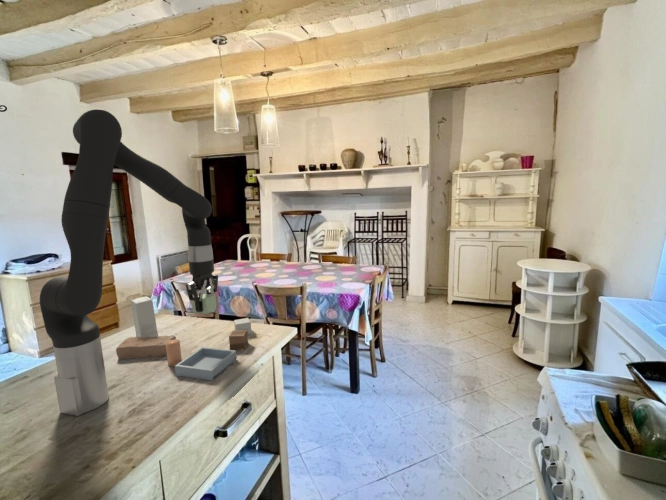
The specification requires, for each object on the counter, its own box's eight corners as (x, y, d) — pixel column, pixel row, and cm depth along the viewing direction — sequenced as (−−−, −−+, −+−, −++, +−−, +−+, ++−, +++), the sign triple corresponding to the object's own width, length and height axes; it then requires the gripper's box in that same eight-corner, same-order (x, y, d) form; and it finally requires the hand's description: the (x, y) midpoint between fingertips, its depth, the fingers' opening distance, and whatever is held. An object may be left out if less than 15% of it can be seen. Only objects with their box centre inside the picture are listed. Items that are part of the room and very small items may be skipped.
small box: (249, 329, 130) (248, 317, 129) (251, 334, 125) (251, 322, 124) (234, 331, 128) (233, 319, 127) (236, 337, 122) (235, 324, 122)
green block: (207, 313, 106) (206, 298, 105) (194, 312, 107) (192, 298, 107) (216, 308, 111) (215, 294, 110) (203, 307, 112) (202, 293, 111)
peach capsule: (175, 366, 101) (173, 345, 100) (165, 365, 102) (162, 344, 101) (184, 360, 105) (182, 340, 104) (174, 359, 106) (172, 338, 105)
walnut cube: (244, 349, 112) (243, 336, 111) (229, 350, 112) (228, 336, 111) (248, 343, 117) (247, 330, 116) (234, 343, 117) (233, 330, 116)
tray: (212, 380, 93) (211, 370, 92) (175, 375, 96) (174, 365, 96) (236, 359, 105) (236, 350, 104) (203, 355, 108) (202, 346, 108)
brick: (178, 345, 117) (176, 332, 116) (169, 356, 109) (167, 343, 108) (128, 349, 115) (127, 336, 114) (116, 361, 107) (114, 347, 106)
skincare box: (158, 337, 124) (154, 299, 122) (140, 342, 120) (135, 303, 117) (151, 331, 130) (147, 295, 128) (134, 335, 126) (129, 298, 123)
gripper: (196, 263, 99) (201, 317, 101) (223, 255, 112) (227, 303, 115) (175, 262, 101) (180, 315, 103) (204, 255, 114) (208, 301, 117)
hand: (205, 308), depth 109 cm, fingers closed on green block, 5 cm apart
